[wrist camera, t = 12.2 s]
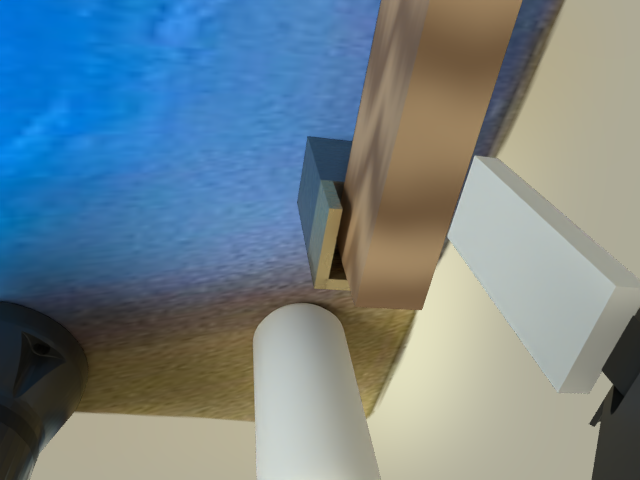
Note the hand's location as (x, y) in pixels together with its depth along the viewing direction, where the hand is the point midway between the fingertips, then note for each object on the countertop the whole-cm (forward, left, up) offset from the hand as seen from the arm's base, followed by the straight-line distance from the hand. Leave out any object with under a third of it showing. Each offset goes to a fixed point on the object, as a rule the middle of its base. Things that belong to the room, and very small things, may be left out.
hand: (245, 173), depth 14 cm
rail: (+2, -9, -18) cm, 20 cm away
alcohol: (-28, -8, -26) cm, 39 cm away
